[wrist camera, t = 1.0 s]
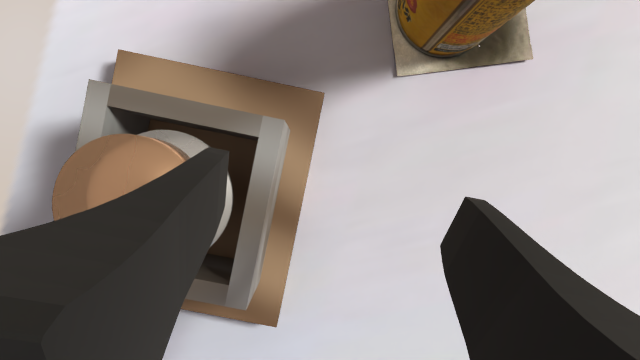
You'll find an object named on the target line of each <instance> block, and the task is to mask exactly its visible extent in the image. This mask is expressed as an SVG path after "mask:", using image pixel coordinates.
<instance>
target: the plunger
mask: <svg viewBox="0 0 640 360" xmlns="http://www.w3.org/2000/svg"><path fill="white" fill-rule="evenodd" d="M208 147H210V146H208V145H207V144H206V143H205V142H203V141H201V140H200V139H198V138H196V137H194V136H191V135H189V134H186V133H182V132H179V131H173V130H153V131H148V132H144V133H141V134H138V135H134V134H112V135H107V136H103V137H100V138H97V139H95V140H92V141H90V142H89V143H87V144H85V145H83V146H82V147H81V148H79V149H78V150H77V151H76V152H75V153H74V154H73V155H72V156H71V157H70V158H69V159H68V160H67V161H66V163H65V164H64V165H63V167H62V169H61V171H60V172H59V175H58V177H57V180H56V182H55V186H54V190H53V197H52V211H53V217H54V221H56V220H59V219H61V218H64V217H67V216H70V215H73V214H76V213H79V212H82V211H85V210H88V209H91V208H94V207H96V206H99V205H101V204H104V203H106V202H108V201H111V200H113V199H116V198H118V197H120V196H122V195H125V194H127V193H129V192H131V191H133V190H135V189H137V188H139V187H141V186H143V185H145V184H147V183H148V182H150V181H152V180H154V179H156V178H158V177H160V176H162V175H163V174H165V173H167V172H169V171H170V170H172V169H174V168H175V167H177V166H179V165H180V164H182V163H183V162H185V161H187V160H188V159H190V158H191V157H193V156H195V155H196V154H198V153H199V152H201V151H203V150H204V149H206V148H208ZM232 207H233V187H232V182H231V178H230V175H229V173H228V176H227V189H226V202H225V208H224V211H223V215H222V218H221V221H220V224H219V227H218V230H217V233H216V235H215V237H214V239H213V242H212V244H211V246H212V245H213V244H214V243H215V242H216V241H217V240H218V238H219V237H220V236H221V235H222V233H223V232H224V230H225V228H226V226H227V224H228V222H229V219H230V216H231V212H232ZM211 246H210V247H211Z"/></svg>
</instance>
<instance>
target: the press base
mask: <svg viewBox="0 0 640 360" xmlns="http://www.w3.org/2000/svg"><path fill="white" fill-rule="evenodd" d="M323 99H324V93H322V92H318V91H313V90H308V89H303V88H299V87H294V86H289V85H284V84H280V83H275V82H270V81H266V80H261V79H256V78H251V77H247V76H242V75H237V74H232V73H228V72H223V71H218V70H214V69H209V68H204V67H199V66H195V65H190V64H185V63H180V62H176V61H171V60H166V59H162V58H157V57H152V56H147V55H143V54H138V53H133V52H128V51H124V50H119V49H118V54H117V59H116V64H115V69H114V75H113V80H112V84H110V83H105V82H100V81H95V80H90V79H89V82H88V87H87V92H86V98H85V103H84V108H83V114H82V119H81V124H80V130H79V135H78V140H77V146H76V151H77V150H78V149H79V148H81V147H82V146H83V145H85V144H87V143H89V142H90V141H92V140H95V139H97V138H100V137H103V136H107V135H112V134H134V135H138V134H141V133H144V132H148V131H153V130H173V131H179V132H182V133H186V134H189V135H191V136H194V137H196V138H198V139H200V140H201V141H203V142H205V143H206V144H207V145H208V146H210V147H211V148H216V149H222V150H227V151H229V163H228V173H229V175H230V178H231V182H232V187H233V207H232V212H231V216H230V219H229V222H228V224H227V226H226V228H225V230H224V232H223V233H222V235H221V236H220V237H219V238H218V240H217V241H216V242H215V243H214V244H213V245H212V246H211V247H210V248H209V250H208V252H207V254H206V256H205V258H204V260H203V262H202V264H201V266H200V268H199V271H198V273H197V275H196V277H195V279H194V281H193V283H192V285H191V287H190V289H189V291H188V293H187V295H186V297H185V300H184V302H183V304H182V307H181V309H184V310H190V311H195V312H200V313H205V314H210V315H215V316H221V317H226V318H231V319H236V320H241V321H246V322H251V323H257V324H262V325H267V326H272V327H277V323H278V318H279V313H280V308H281V304H282V299H283V294H284V289H285V284H286V279H287V274H288V269H289V265H290V260H291V255H292V250H293V245H294V240H295V235H296V230H297V225H298V221H299V216H300V211H301V206H302V201H303V196H304V191H305V186H306V182H307V177H308V172H309V167H310V162H311V157H312V152H313V147H314V142H315V138H316V133H317V128H318V123H319V118H320V113H321V108H322V103H323ZM76 151H75V152H76Z"/></svg>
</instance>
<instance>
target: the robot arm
mask: <svg viewBox="0 0 640 360" xmlns="http://www.w3.org/2000/svg"><path fill="white" fill-rule="evenodd" d="M228 163H229V151H227V150H222V149H216V148H211V147H208V148H206V149H204V150H203V151H201V152H199V153H198V154H196V155H195V156H193V157H191V158H190V159H188V160H187V161H185V162H183V163H182V164H180V165H179V166H177V167H175V168H174V169H172V170H170V171H169V172H167V173H165V174H163V175H162V176H160V177H158V178H156V179H154V180H152V181H150V182H148V183H147V184H145V185H143V186H141V187H139V188H137V189H135V190H133V191H131V192H129V193H127V194H125V195H122V196H120V197H118V198H116V199H113V200H111V201H108V202H106V203H104V204H101V205H99V206H96V207H94V208H91V209H88V210H85V211H82V212H79V213H76V214H73V215H70V216H67V217H64V218H61V219H59V220H56V221H53V222H50V223H46V224H43V225H39V226H36V227H32V228H29V229H25V230H21V231H17V232H13V233H9V234H5V235H1V236H0V360H162V358H163V356H164V353H165V350H166V347H167V344H168V341H169V339H170V336H171V333H172V330H173V328H174V325H175V322H176V319H177V317H178V314H179V311H180V309H181V307H182V304H183V302H184V300H185V297H186V295H187V293H188V291H189V289H190V287H191V285H192V283H193V281H194V279H195V277H196V275H197V273H198V271H199V268H200V266H201V264H202V262H203V260H204V258H205V256H206V254H207V252H208V250H209V248H210V246H211V244H212V242H213V239H214V237H215V235H216V233H217V230H218V227H219V224H220V221H221V218H222V215H223V211H224V208H225V202H226V189H227V176H228ZM440 248H441V255H442V263H443V268H444V274H445V278H446V281H447V285H448V288H449V291H450V295H451V298H452V301H453V304H454V307H455V311H456V314H457V317H458V320H459V323H460V326H461V330H462V333H463V336H464V339H465V342H466V346H467V350H468V354H469V358H470V360H640V316H639V315H637V314H635V313H634V312H632V311H630V310H629V309H627V308H626V307H624V306H623V305H621V304H619V303H618V302H616V301H615V300H613V299H612V298H610V297H609V296H607V295H606V294H604V293H603V292H601V291H600V290H599V289H597V288H596V287H594V286H593V285H591V284H590V283H588V282H587V281H586V280H584V279H583V278H581V277H580V276H579V275H577V274H576V273H575V272H573V271H572V270H571V269H569V268H568V267H567V266H566V265H564V264H563V263H562V262H560V261H559V260H558V259H556V258H555V257H554V256H553V255H551V254H550V253H549V252H548V251H547V250H545V249H544V248H543V247H542V246H540V245H539V244H538V243H537V242H536V241H534V240H533V239H532V238H531V237H530V236H528V235H527V234H526V233H525V232H524V231H523V230H521V229H520V228H519V227H518V226H517V225H515V224H514V223H513V222H512V221H511V220H510V219H508V218H507V217H506V216H505V215H504V214H502V213H501V212H500V211H499V210H497V209H496V208H495V207H493V206H492V205H491V204H489V203H488V202H486V201H485V200H480V199H475V198H470V197H465V198H464V200H463V202H462V204H461V206H460V208H459V210H458V212H457V214H456V216H455V218H454V220H453V222H452V224H451V226H450V227H449V229H448V231H447V233H446V235H445V237H444V239H443V241H442V243H441V245H440Z"/></svg>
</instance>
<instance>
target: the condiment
mask: <svg viewBox="0 0 640 360" xmlns="http://www.w3.org/2000/svg"><path fill="white" fill-rule="evenodd" d="M533 1H535V0H388V7H389V15H390V23H391V30H392V39H393V46H394V51H395V60H396V69H397V76H405V75H414V74H423V73H430V72H439V71H447V70H455V69H462V68H469V67H475V66H484V65H492V64H502V63H508V62H514V61H522V60H530V59H533V55H532V48H531V44H530V37H529V30H528V22H527V16H526V7H527V6H528V5H530V4H531V3H532V2H533ZM478 45H480V47H479V46H478Z"/></svg>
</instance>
